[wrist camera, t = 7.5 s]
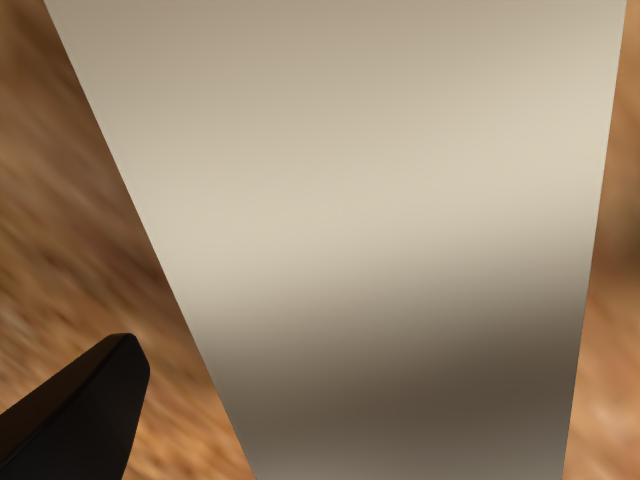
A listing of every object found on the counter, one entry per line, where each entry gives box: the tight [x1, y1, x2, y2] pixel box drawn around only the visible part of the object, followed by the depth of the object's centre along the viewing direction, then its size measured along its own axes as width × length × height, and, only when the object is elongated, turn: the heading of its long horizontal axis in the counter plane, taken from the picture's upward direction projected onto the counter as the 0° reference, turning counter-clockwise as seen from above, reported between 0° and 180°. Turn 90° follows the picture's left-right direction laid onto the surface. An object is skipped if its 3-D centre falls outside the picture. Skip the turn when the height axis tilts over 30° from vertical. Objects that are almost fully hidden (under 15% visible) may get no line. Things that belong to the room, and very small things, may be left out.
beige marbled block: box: [43, 0, 627, 480], centre depth 9 cm, size 16×5×4 cm, turn 11°
